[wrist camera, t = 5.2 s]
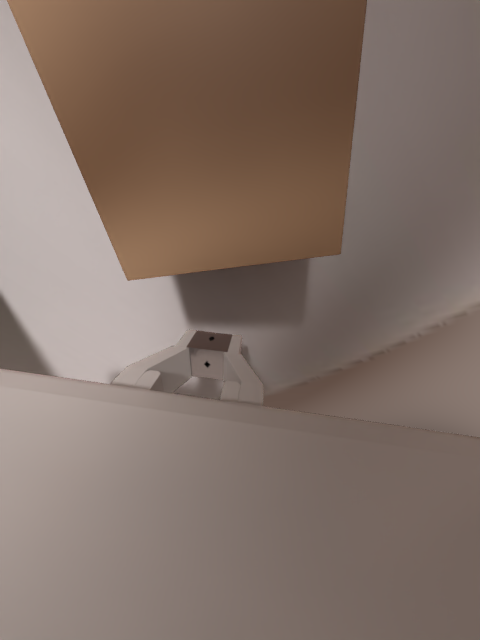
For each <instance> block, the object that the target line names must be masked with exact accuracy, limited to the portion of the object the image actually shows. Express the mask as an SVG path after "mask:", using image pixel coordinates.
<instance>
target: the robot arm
mask: <svg viewBox="0 0 480 640" xmlns="http://www.w3.org/2000/svg"><path fill="white" fill-rule="evenodd" d="M241 348H242V335H232V334H221V333H214V332H206V331H199V330H198V331H197V330H190V329H189V330H187V331H186V332H185V334H184V335H183V337H182V338H181V339H180V341H179V342H178V343H177V345H176V346H171V347H169V348H167V349H164V350H162V351H160V352H158V353H156V354H153V355H151V356H149V357H147V358H144V359H142V360H140V361H138V362H136V363H133V364H131V365H129V366H127V367H126V368H125V369H124V370H123V371H122V372H121V373H120V374H119V375H118V376H117V377H116V378H115V379H114V381H113V382H112V383H111V384H105V383H98V382H91V381H84V380H77V379H70V378H63V377H56V376H49V375H42V374H35V373H28V372H21V371H14V370H7V369H0V640H480V437H476V436H469V435H462V434H455V433H447V432H440V431H433V430H427V429H419V428H412V427H405V426H399V425H391V424H384V423H377V422H371V421H364V420H357V419H350V418H342V417H335V416H329V415H321V414H315V413H307V412H301V411H293V410H286V409H279V408H272V407H265V406H263V383H262V382H261V381H260V379H259V378H258V377H257V375H256V374H255V372H254V371H253V370H252V368H251V367H250V365H249V364H248V363H247V361H246V360H245V359H244V357H243V356H242V354H241ZM192 376H195V377H205V378H212V379H218V380H224V385H223V389H222V392H221V396H220V399H219V400H217V399H210V398H203V397H196V396H189V395H182V394H175V393H172V392H174V391H175V390H176V389H177V388H179V387H180V386H181V385H182V384H184V383H185V382H186V381H187V380H189V379H190V378H191V377H192Z"/></svg>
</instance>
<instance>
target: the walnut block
mask: <svg viewBox="0 0 480 640" xmlns="http://www.w3.org/2000/svg"><path fill="white" fill-rule="evenodd" d="M7 2H8V4H9V6H10V9H11V11H12V13H13V16H14V18H15V20H16V22H17V25H18V27H19V29H20V32H21V34H22V36H23V39H24V41H25V43H26V46H27V48H28V50H29V53H30V55H31V57H32V60H33V62H34V64H35V67H36V69H37V71H38V74H39V76H40V78H41V81H42V83H43V85H44V88H45V90H46V92H47V95H48V97H49V99H50V101H51V104H52V106H53V108H54V111H55V113H56V115H57V118H58V120H59V122H60V125H61V127H62V129H63V132H64V134H65V136H66V139H67V141H68V143H69V146H70V148H71V150H72V153H73V155H74V157H75V160H76V162H77V164H78V167H79V169H80V171H81V174H82V176H83V178H84V180H85V183H86V185H87V187H88V190H89V192H90V194H91V197H92V199H93V201H94V204H95V206H96V208H97V211H98V213H99V215H100V218H101V220H102V222H103V225H104V227H105V229H106V232H107V234H108V236H109V239H110V241H111V243H112V246H113V248H114V250H115V253H116V255H117V257H118V259H119V262H120V264H121V266H122V269H123V271H124V273H125V276H126V278H127V280H128V281H129V280H137V279H145V278H153V277H161V276H169V275H177V274H185V273H193V272H201V271H209V270H217V269H225V268H233V267H241V266H249V265H258V264H266V263H274V262H282V261H290V260H298V259H306V258H314V257H322V256H330V255H338V254H341V245H342V235H343V225H344V216H345V206H346V197H347V187H348V177H349V168H350V158H351V149H352V139H353V129H354V120H355V110H356V101H357V91H358V81H359V72H360V62H361V53H362V43H363V33H364V24H365V14H366V5H367V0H7Z"/></svg>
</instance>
